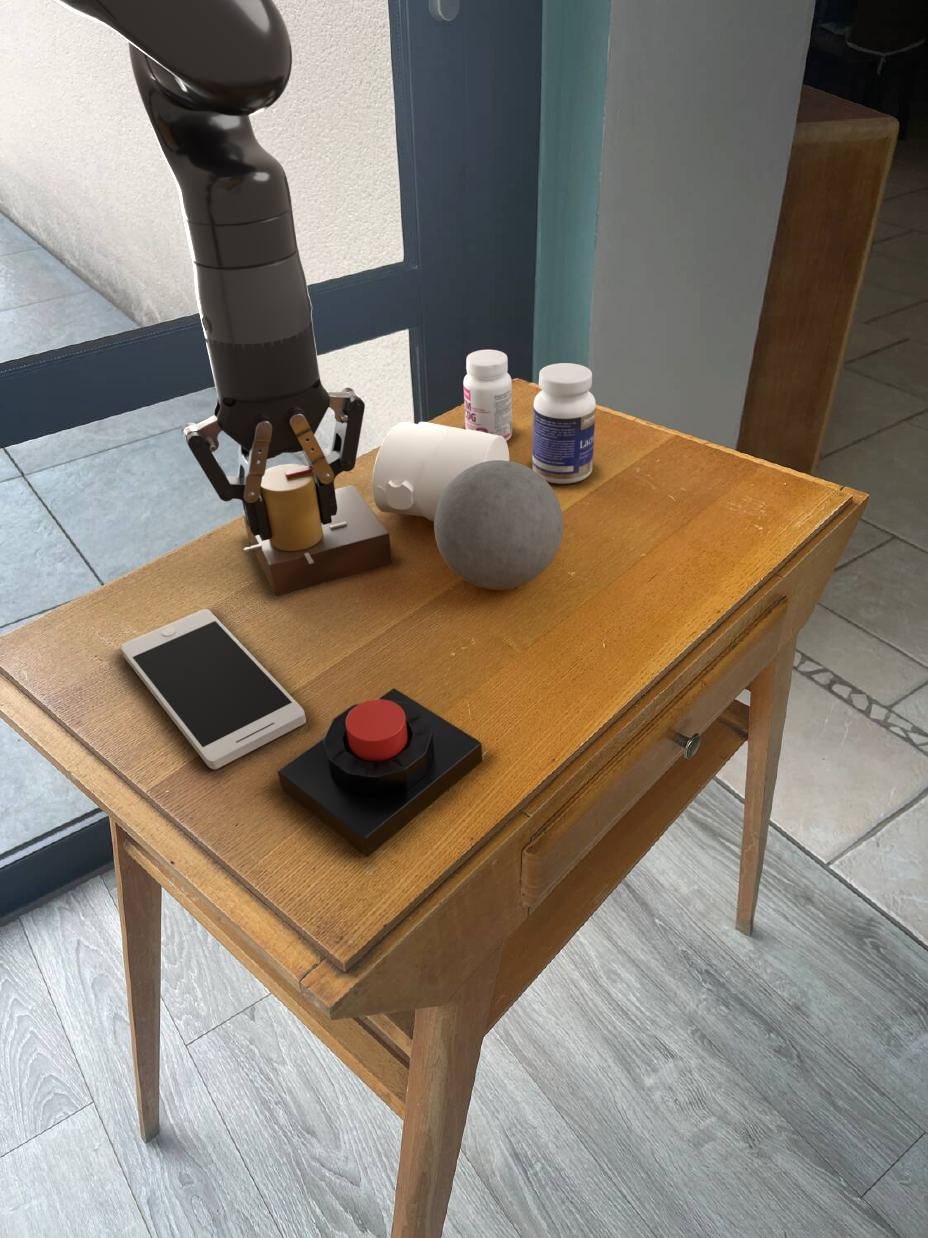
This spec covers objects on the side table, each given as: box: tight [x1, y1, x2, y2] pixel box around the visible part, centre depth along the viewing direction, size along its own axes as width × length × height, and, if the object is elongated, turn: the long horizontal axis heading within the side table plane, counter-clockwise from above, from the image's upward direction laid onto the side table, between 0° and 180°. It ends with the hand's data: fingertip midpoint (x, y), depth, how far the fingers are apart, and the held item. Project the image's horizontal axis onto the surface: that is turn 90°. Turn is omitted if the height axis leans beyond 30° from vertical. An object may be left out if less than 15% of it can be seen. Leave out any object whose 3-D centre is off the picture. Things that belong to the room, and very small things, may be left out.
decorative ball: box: [433, 460, 564, 591], centre depth 73 cm, size 10×10×10 cm
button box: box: [277, 687, 483, 858], centre depth 58 cm, size 10×8×4 cm
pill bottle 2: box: [531, 362, 597, 485], centre depth 86 cm, size 6×6×10 cm
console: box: [242, 484, 393, 596], centre depth 78 cm, size 11×10×3 cm
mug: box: [371, 421, 510, 522], centre depth 82 cm, size 12×9×8 cm
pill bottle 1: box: [463, 349, 513, 442], centre depth 93 cm, size 5×5×8 cm
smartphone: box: [120, 608, 307, 771], centre depth 66 cm, size 7×15×1 cm, turn 38°
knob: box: [260, 463, 323, 551], centre depth 74 cm, size 4×4×6 cm
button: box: [346, 698, 408, 761], centre depth 57 cm, size 4×4×2 cm
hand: (293, 526), depth 76 cm, fingers closed on knob, 4 cm apart
